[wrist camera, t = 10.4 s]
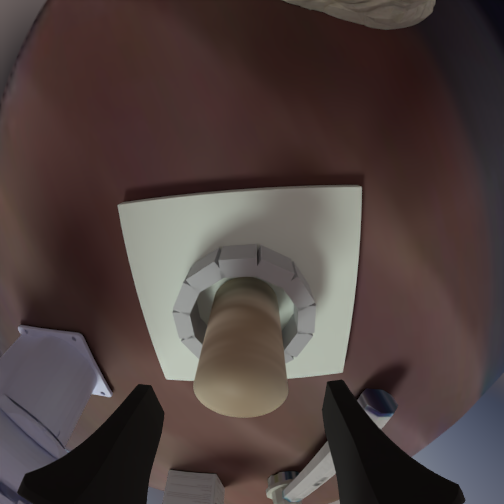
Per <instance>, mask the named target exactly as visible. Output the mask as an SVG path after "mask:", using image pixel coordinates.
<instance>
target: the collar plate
mask: <svg viewBox="0 0 504 504" xmlns="http://www.w3.org/2000/svg"><path fill="white" fill-rule="evenodd" d="M361 206H362V187H361V186H358V185H315V186H288V187H268V188H252V189H238V190H225V191H213V192H203V193H193V194H183V195H174V196H166V197H157V198H150V199H142V200H135V201H128V202H122V203H121V204H119V205H118V211H119V216H120V222H121V227H122V232H123V237H124V242H125V246H126V251H127V255H128V259H129V263H130V268H131V272H132V276H133V279H134V283H135V287H136V291H137V294H138V298H139V301H140V305H141V308H142V311H143V315H144V318H145V321H146V324H147V327H148V331H149V334H150V337H151V340H152V343H153V345H154V348H155V351H156V354H157V357H158V360H159V362H160V365H161V368H162V370H163V373H164V375H165V378H166V379H168V380H186V381H194V380H195V375H196V371H197V367H198V362H199V358H200V354H201V350H202V345H203V341H204V337H205V333H206V329H207V325H208V321H209V316H210V312H211V308H212V304H213V300H214V296H215V294H216V292H217V290H218V289H219V287H220V286H221V285H222V284H224V283H225V282H227V281H229V280H231V279H233V278H237V277H253V278H257V279H260V280H262V281H264V282H265V283H267V284H268V285H269V286H270V287H271V288H272V289H273V290H274V292H275V294H276V296H277V300H278V307H279V315H280V323H281V331H282V339H283V348H284V356H285V365H286V373H287V379H289V378H301V377H310V376H319V375H328V374H335V373H342V372H343V368H344V362H345V357H346V352H347V346H348V340H349V334H350V327H351V321H352V314H353V306H354V298H355V290H356V281H357V271H358V259H359V246H360V230H361Z"/></svg>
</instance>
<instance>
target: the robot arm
mask: <svg viewBox="0 0 504 504" xmlns="http://www.w3.org/2000/svg"><path fill="white" fill-rule="evenodd" d="M18 330H19V332H20V334H21V336H20V337H19V338H18V339H17V340H16V341H15V342H14V343H13V344H12V346H11V347H10V348H9V349H8V350H7V351H6V352H5V354H4V355H3V356H2V357H1V358H0V504H146V502H147V492H148V484H149V478H150V473H151V469H152V466H153V462H154V458H155V455H156V451H157V448H158V444H159V441H160V437H161V433H162V427H163V421H164V411H163V409H162V407H161V405H160V403H159V401H158V399H157V397H156V395H155V392H154V390H153V388H152V386H151V385H143V384H138V385H137V386H136V388H135V389H134V390H133V391H132V392H131V393H130V394H129V396H128V397H127V398H126V399H125V400H124V401H123V403H122V404H121V405H120V406H119V407H118V408H117V409H116V411H115V412H114V413H113V414H112V415H111V416H110V417H109V418H108V419H107V420H106V421H105V422H104V423H103V424H102V425H101V426H100V427H99V428H98V429H97V430H96V431H95V432H94V433H93V434H92V435H91V436H90V437H89V438H88V439H86V440H85V441H84V442H83V443H81V444H80V445H79V446H78V447H76V448H75V449H73V450H72V451H70V452H69V453H67V452H66V451H65V450H64V449H65V447H66V445H67V442H68V440H69V438H70V436H71V434H72V432H73V430H74V428H75V426H76V424H77V422H78V420H79V418H80V416H81V414H82V412H83V410H84V408H85V406H86V404H87V402H88V400H89V398H90V396H91V394H95V395H100V396H106V397H111V396H112V394H113V393H112V391H111V390H110V388H109V386H108V384H107V382H106V381H105V379H104V377H103V375H102V373H101V371H100V369H99V368H98V366H97V364H96V362H95V360H94V358H93V356H92V354H91V352H90V349H89V347H88V345H87V343H86V341H85V339H84V337H83V335H82V334H80V333H77V332H68V331H60V330H52V329H44V328H38V327H31V326H25V325H20V326H19V327H18ZM322 413H323V421H324V428H325V433H326V437H327V441H328V445H329V448H330V452H331V456H332V460H333V464H334V467H335V471H336V476H337V481H338V489H339V498H340V504H463V503H464V502H465V498H464V495H463V492H462V490H461V489H460V487H459V485H458V484H456V483H454V482H452V481H450V480H447V479H445V478H443V477H441V476H440V475H438V474H436V473H434V472H432V471H431V470H429V469H427V468H426V467H424V466H423V465H421V464H420V463H418V462H417V461H416V460H414V459H413V458H411V457H410V456H409V455H408V454H406V453H405V452H404V451H403V450H401V449H400V448H399V447H398V446H397V445H396V444H395V443H394V442H392V441H391V440H390V439H389V438H388V437H387V436H386V435H385V434H384V432H383V431H382V430H381V429H380V428H379V427H378V426H377V425H376V424H375V423H374V421H373V420H372V419H371V418H370V417H369V415H368V414H367V413H366V412H365V410H364V409H363V408H362V407H361V405H360V404H359V403H358V401H357V400H356V398H355V397H354V396H353V394H352V393H351V391H350V390H349V388H348V387H347V385H346V384H345V382H344V381H343V380H336V381H329V382H327V386H326V392H325V397H324V403H323V408H322Z"/></svg>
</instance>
